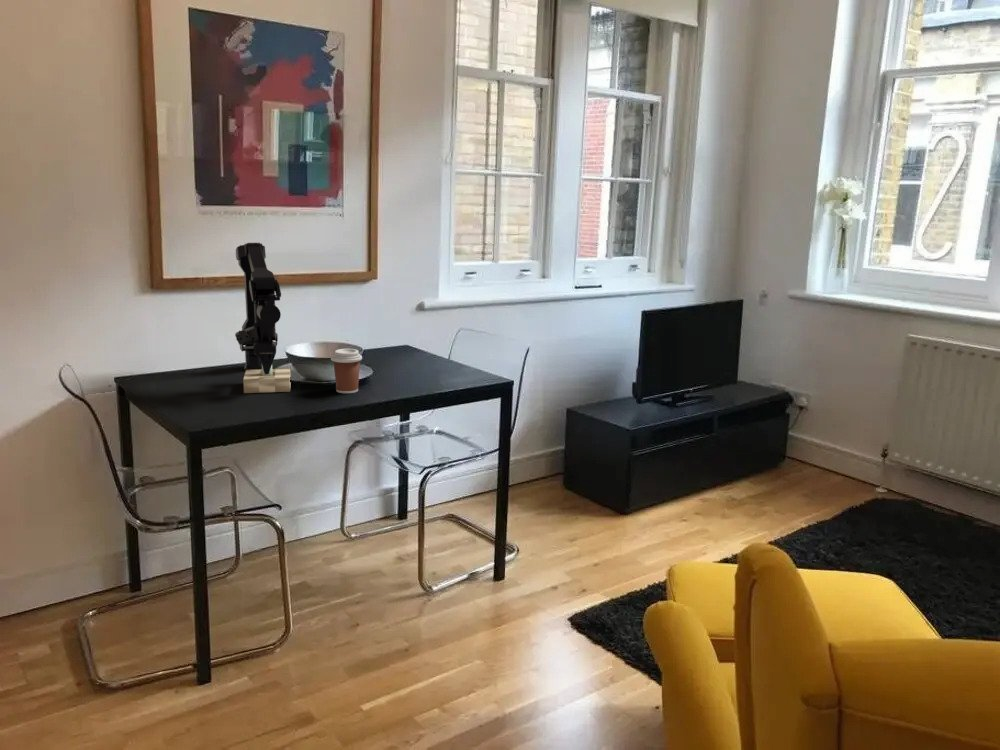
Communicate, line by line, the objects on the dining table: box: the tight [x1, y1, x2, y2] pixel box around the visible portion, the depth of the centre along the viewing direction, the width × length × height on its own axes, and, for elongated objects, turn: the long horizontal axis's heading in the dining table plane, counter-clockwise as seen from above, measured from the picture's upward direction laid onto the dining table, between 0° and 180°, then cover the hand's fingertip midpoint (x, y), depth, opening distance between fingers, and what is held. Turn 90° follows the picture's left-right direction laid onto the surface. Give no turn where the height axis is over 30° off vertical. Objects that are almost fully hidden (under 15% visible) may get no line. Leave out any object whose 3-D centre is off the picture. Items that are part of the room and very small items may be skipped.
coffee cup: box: [330, 348, 363, 394], centre depth 248 cm, size 9×9×12 cm
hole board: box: [242, 368, 292, 394], centre depth 250 cm, size 12×13×4 cm
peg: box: [262, 365, 273, 376], centre depth 249 cm, size 3×3×9 cm
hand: (267, 370), depth 249 cm, fingers open, 9 cm apart
